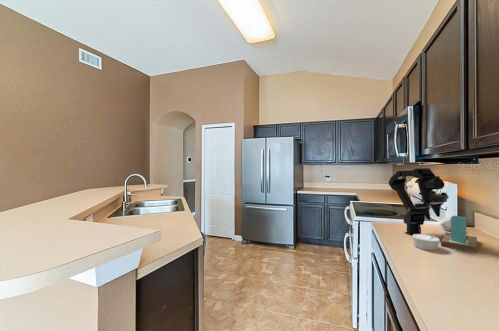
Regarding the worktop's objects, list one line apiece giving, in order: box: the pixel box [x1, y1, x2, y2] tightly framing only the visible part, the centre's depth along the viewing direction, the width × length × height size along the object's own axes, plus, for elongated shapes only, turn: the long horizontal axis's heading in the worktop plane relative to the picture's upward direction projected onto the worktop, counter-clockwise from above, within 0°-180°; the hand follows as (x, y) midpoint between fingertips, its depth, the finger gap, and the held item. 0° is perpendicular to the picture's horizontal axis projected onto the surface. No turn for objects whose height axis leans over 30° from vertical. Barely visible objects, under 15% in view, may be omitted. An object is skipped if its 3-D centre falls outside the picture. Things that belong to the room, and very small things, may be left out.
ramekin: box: [411, 233, 441, 252], centre depth 120 cm, size 11×11×5 cm
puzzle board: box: [440, 231, 478, 253], centre depth 125 cm, size 22×13×3 cm, turn 135°
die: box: [439, 217, 451, 232], centre depth 150 cm, size 8×9×10 cm
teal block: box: [450, 215, 467, 243], centre depth 121 cm, size 4×4×12 cm
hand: (434, 218), depth 130 cm, fingers open, 9 cm apart
